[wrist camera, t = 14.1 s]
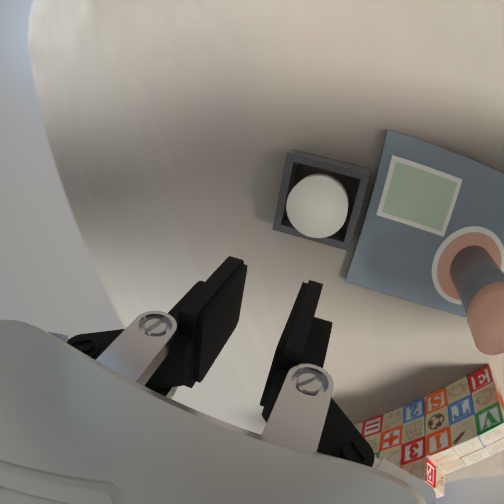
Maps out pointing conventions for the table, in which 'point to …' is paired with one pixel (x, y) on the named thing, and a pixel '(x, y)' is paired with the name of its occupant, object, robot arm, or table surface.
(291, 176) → the button housing
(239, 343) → the table surface
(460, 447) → the stack of blocks
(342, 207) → the button
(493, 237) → the picture board
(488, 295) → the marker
